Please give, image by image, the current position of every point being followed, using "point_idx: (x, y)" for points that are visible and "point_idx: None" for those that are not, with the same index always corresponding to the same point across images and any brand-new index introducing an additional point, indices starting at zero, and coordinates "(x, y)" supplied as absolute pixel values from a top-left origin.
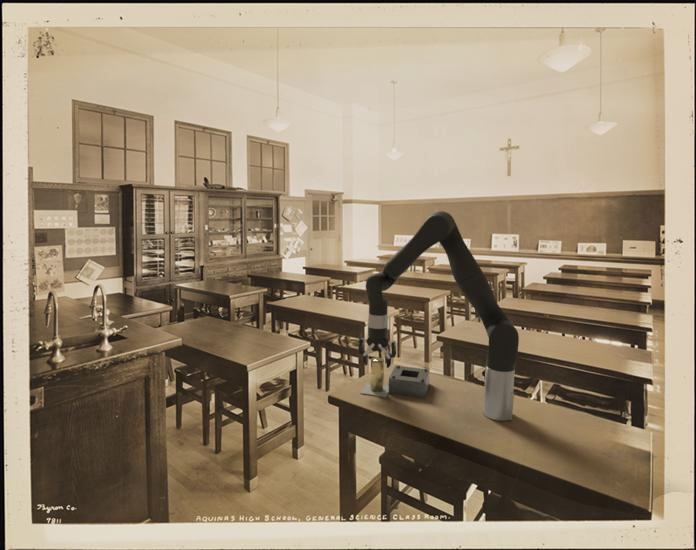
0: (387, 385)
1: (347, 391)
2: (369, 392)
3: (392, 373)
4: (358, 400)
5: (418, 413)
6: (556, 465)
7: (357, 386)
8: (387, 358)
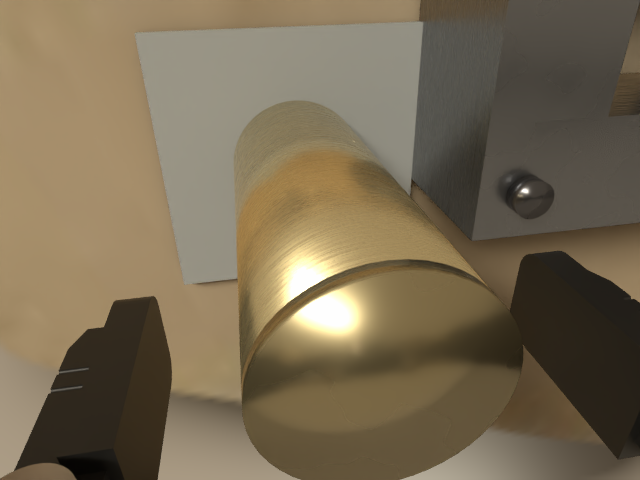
0: (380, 24)
1: (45, 271)
2: None
3: (512, 71)
4: (213, 361)
5: None
6: None
7: (69, 132)
8: (635, 442)
